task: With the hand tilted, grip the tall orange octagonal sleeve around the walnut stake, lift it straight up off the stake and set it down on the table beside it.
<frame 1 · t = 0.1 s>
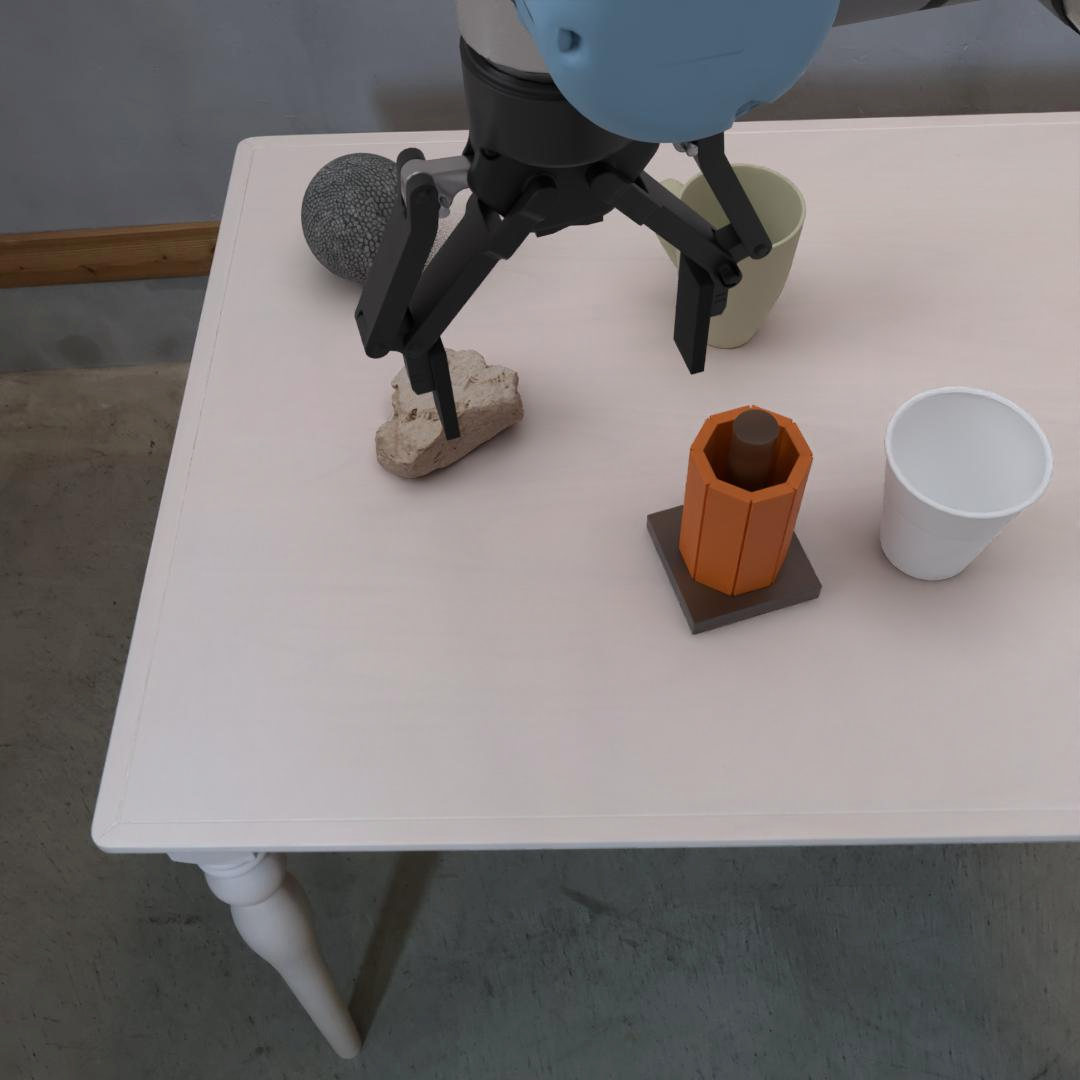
hand: (569, 387, 61), 20 cm above the table, tool pointing down, fingers open, 13 cm apart
stake: (730, 560, 77), on the table
mug: (712, 322, 89), on the table
decorative ball: (375, 267, 94), on the table
orange octagonal sleeve: (732, 549, 76), point 1 cm above the table, touching stake
cup: (923, 546, 77), on the table
stone: (456, 432, 84), on the table
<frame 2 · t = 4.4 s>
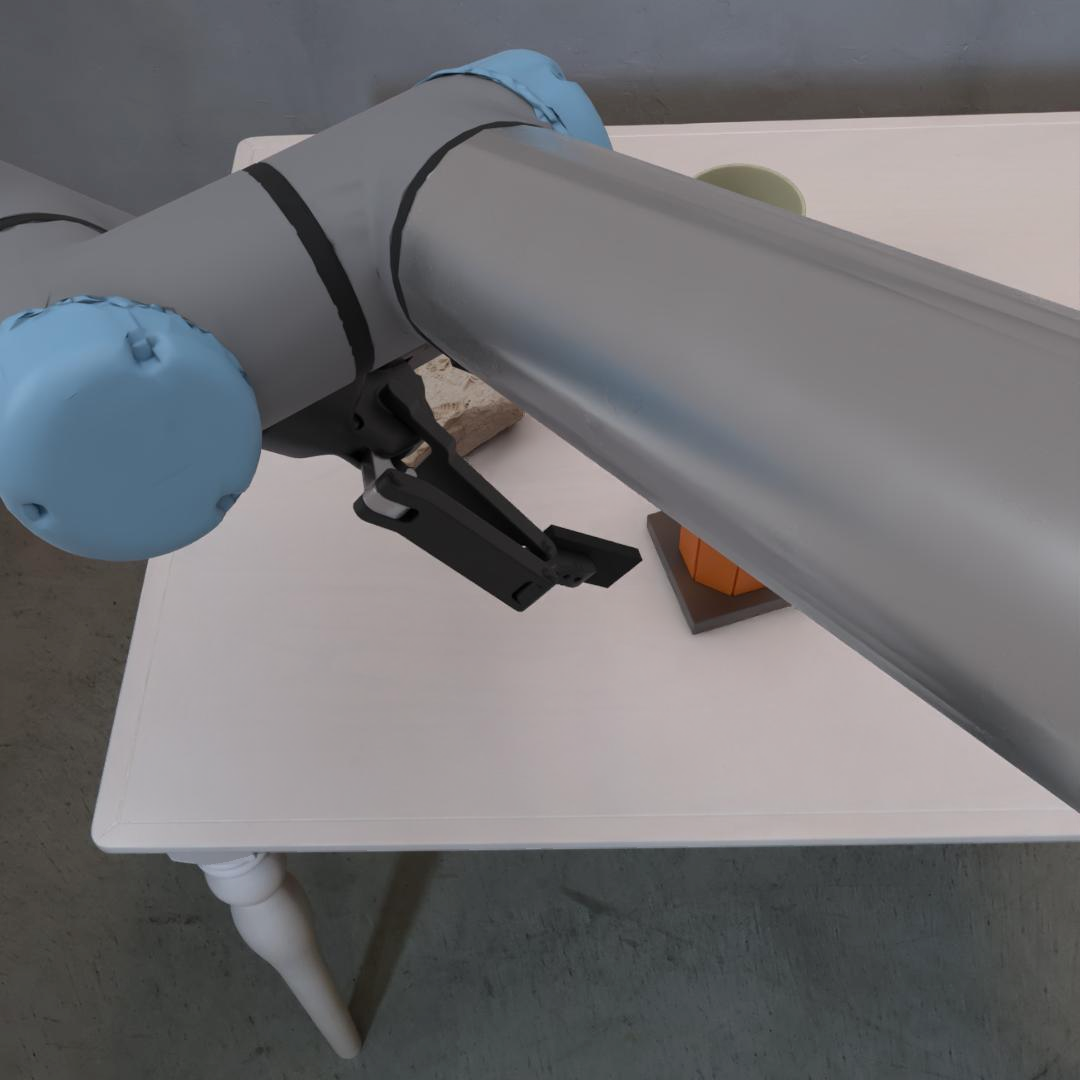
hand: (584, 468, 63), 15 cm above the table, tool tilted 45°, fingers open, 13 cm apart
nothing on the table moved.
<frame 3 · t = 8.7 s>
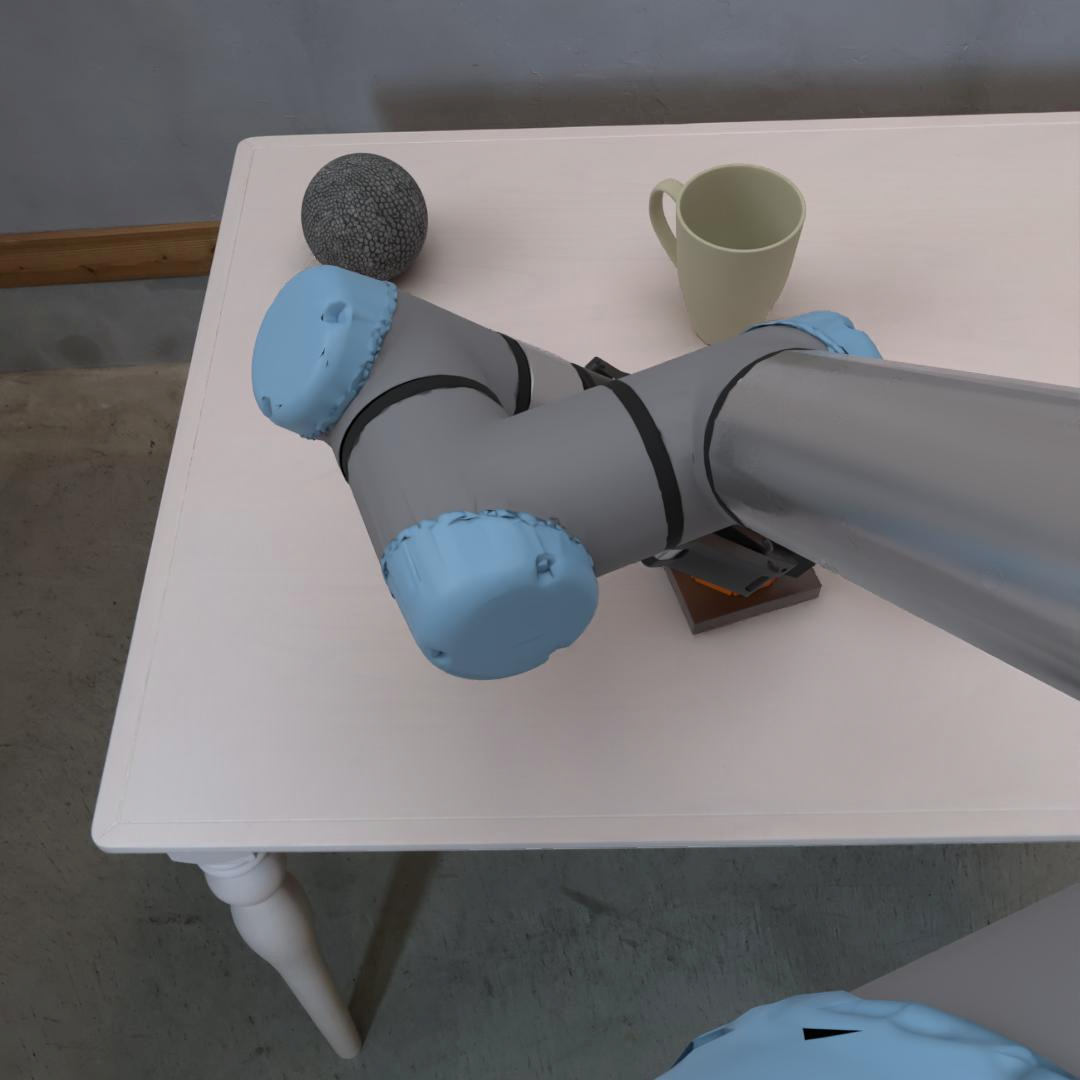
hand: (786, 515, 74), 4 cm above the table, tool tilted 45°, fingers closed on orange octagonal sleeve, 7 cm apart
orange octagonal sleeve: (732, 549, 76), point 2 cm above the table, touching gripper, stake
everything else where it was.
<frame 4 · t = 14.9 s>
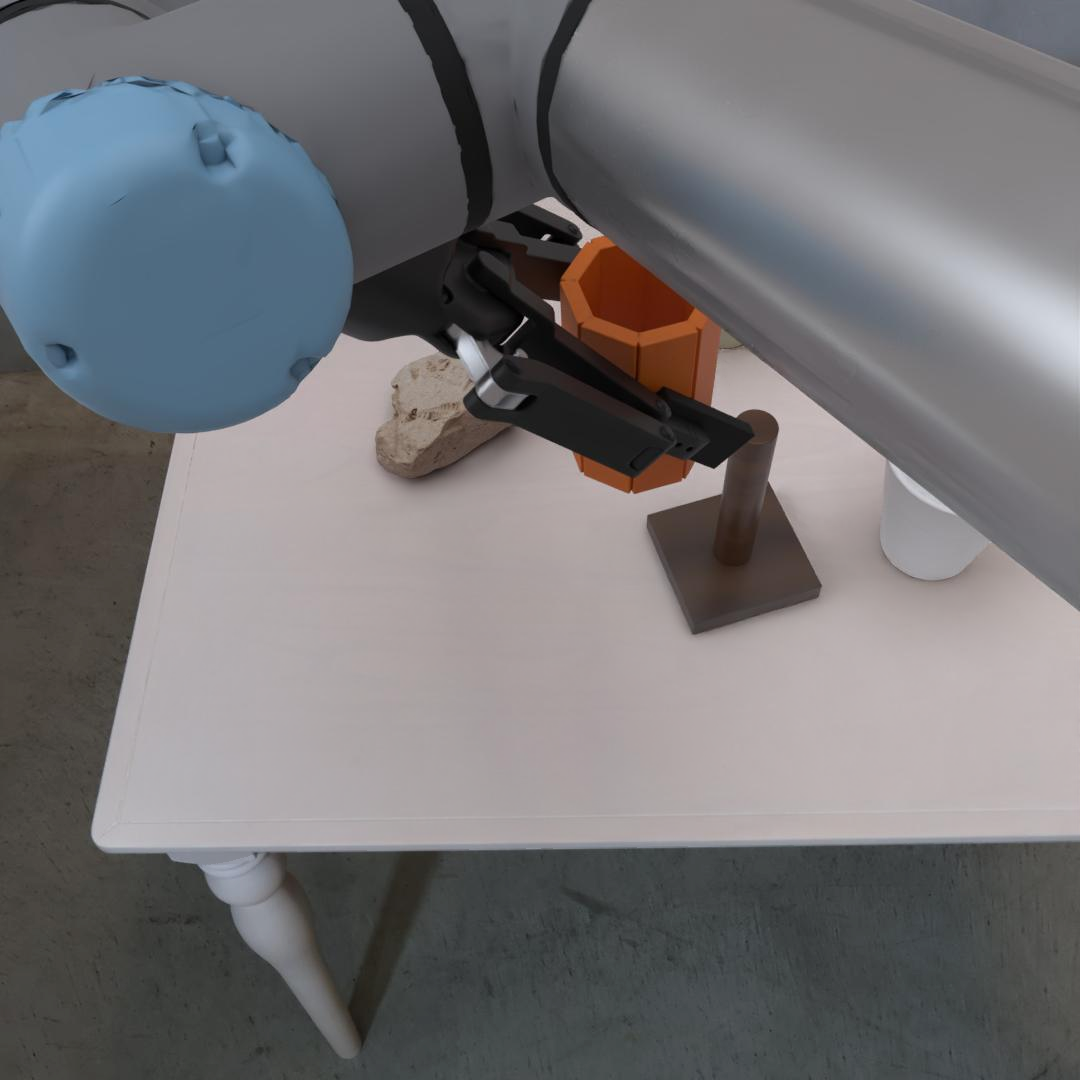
hand: (703, 389, 57), 22 cm above the table, tool tilted 45°, fingers closed on orange octagonal sleeve, 7 cm apart
orange octagonal sleeve: (635, 437, 58), point 20 cm above the table, touching gripper
everything else where it was.
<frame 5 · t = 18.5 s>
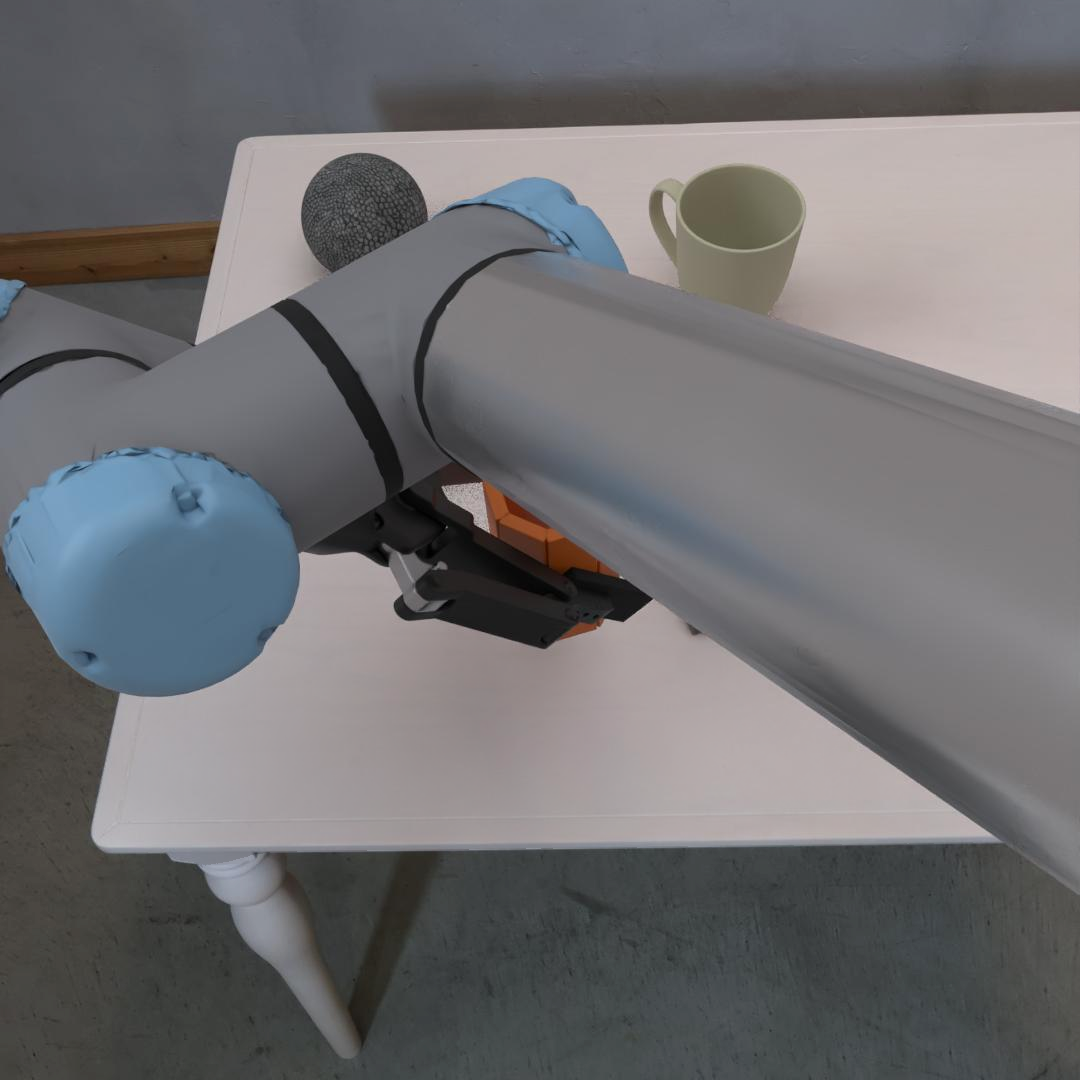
hand: (615, 549, 65), 11 cm above the table, tool tilted 45°, fingers closed on orange octagonal sleeve, 7 cm apart
orange octagonal sleeve: (558, 587, 67), point 9 cm above the table, touching gripper
everything else where it was.
when the fingers open (2 cm above the table, at t = 21.2 s): orange octagonal sleeve stays where it is, on the table.
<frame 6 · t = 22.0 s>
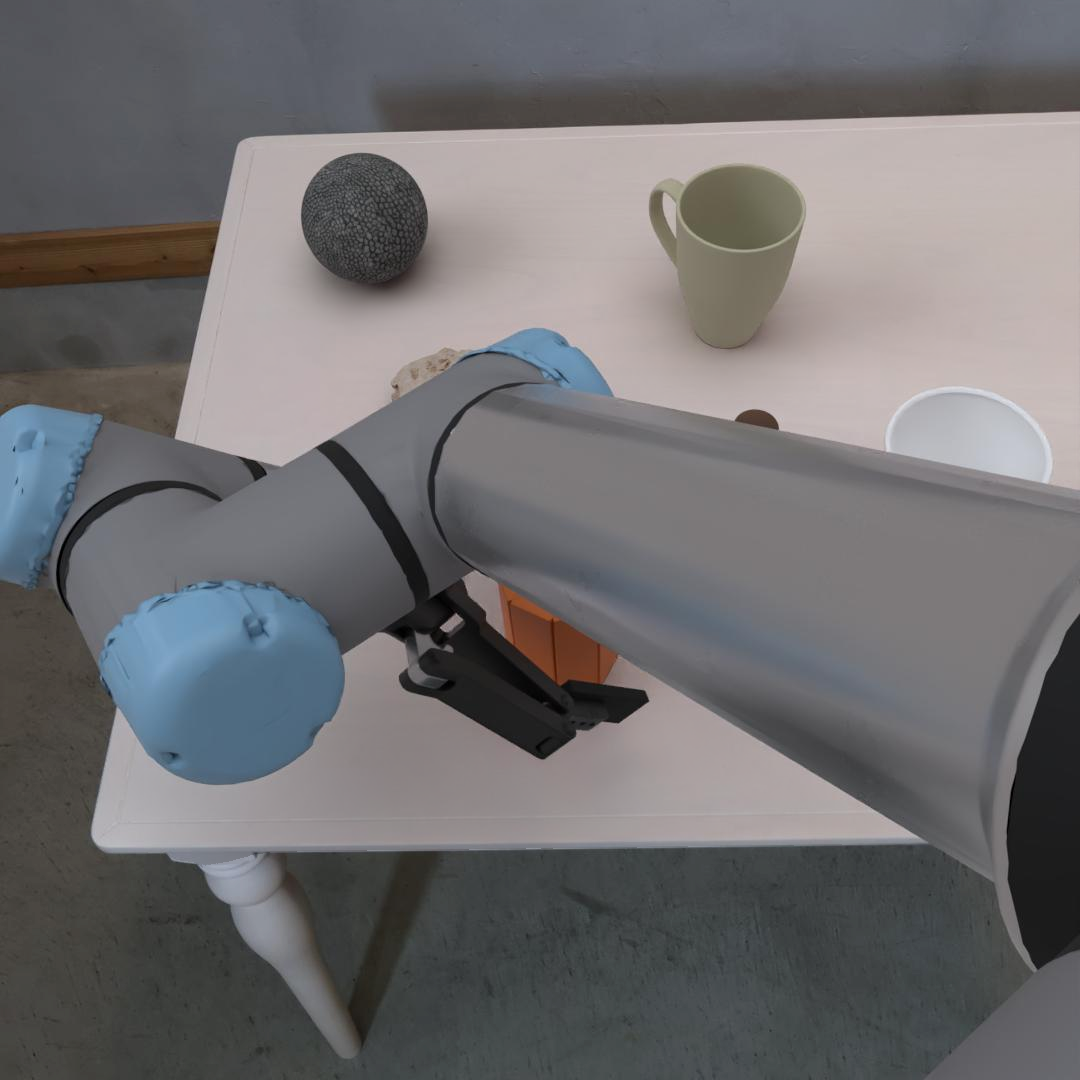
hand: (596, 611, 71), 4 cm above the table, tool tilted 45°, fingers open, 13 cm apart
orange octagonal sleeve: (562, 651, 74), on the table
everything else where it was.
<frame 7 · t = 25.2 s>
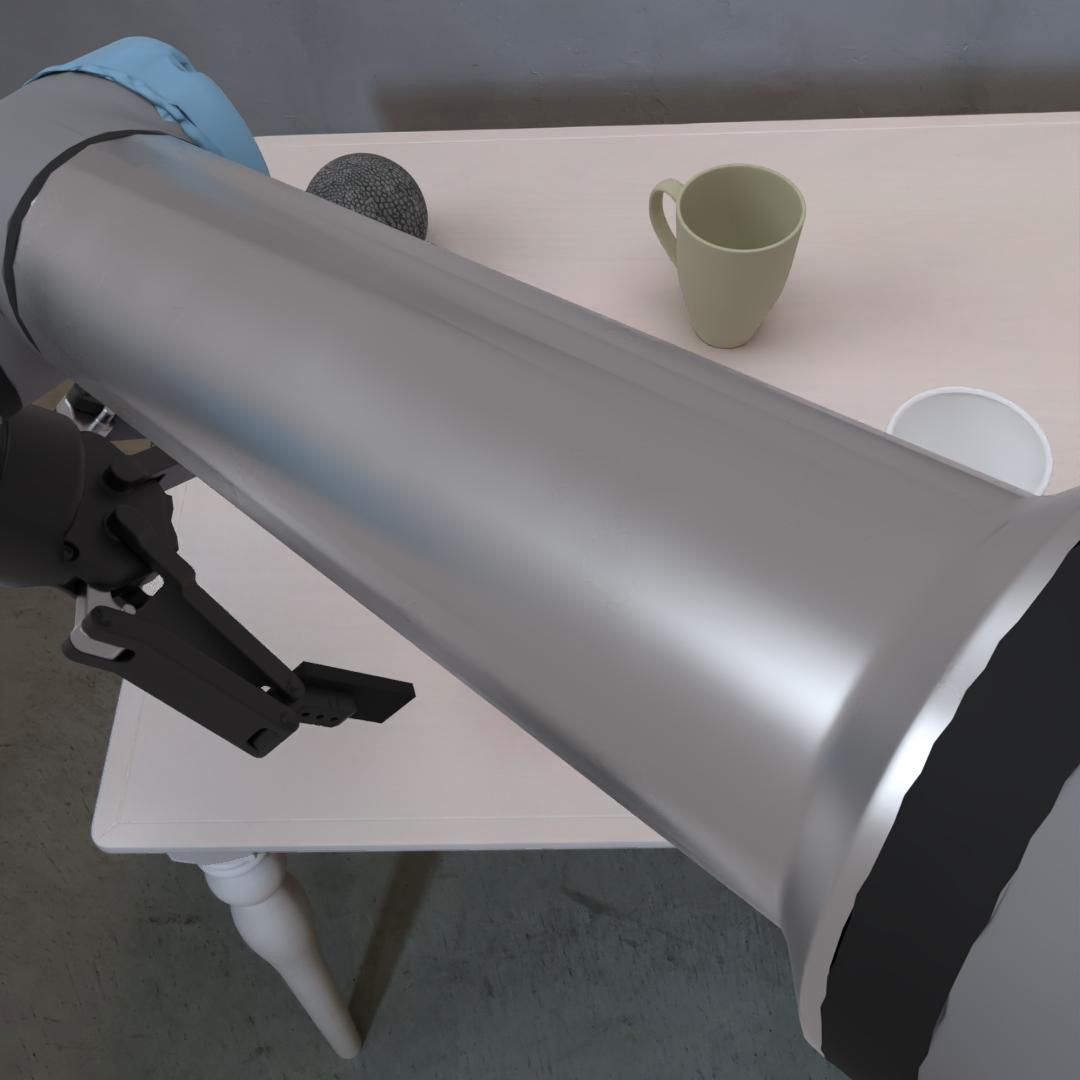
hand: (371, 591, 59), 16 cm above the table, tool tilted 40°, fingers open, 13 cm apart
nothing on the table moved.
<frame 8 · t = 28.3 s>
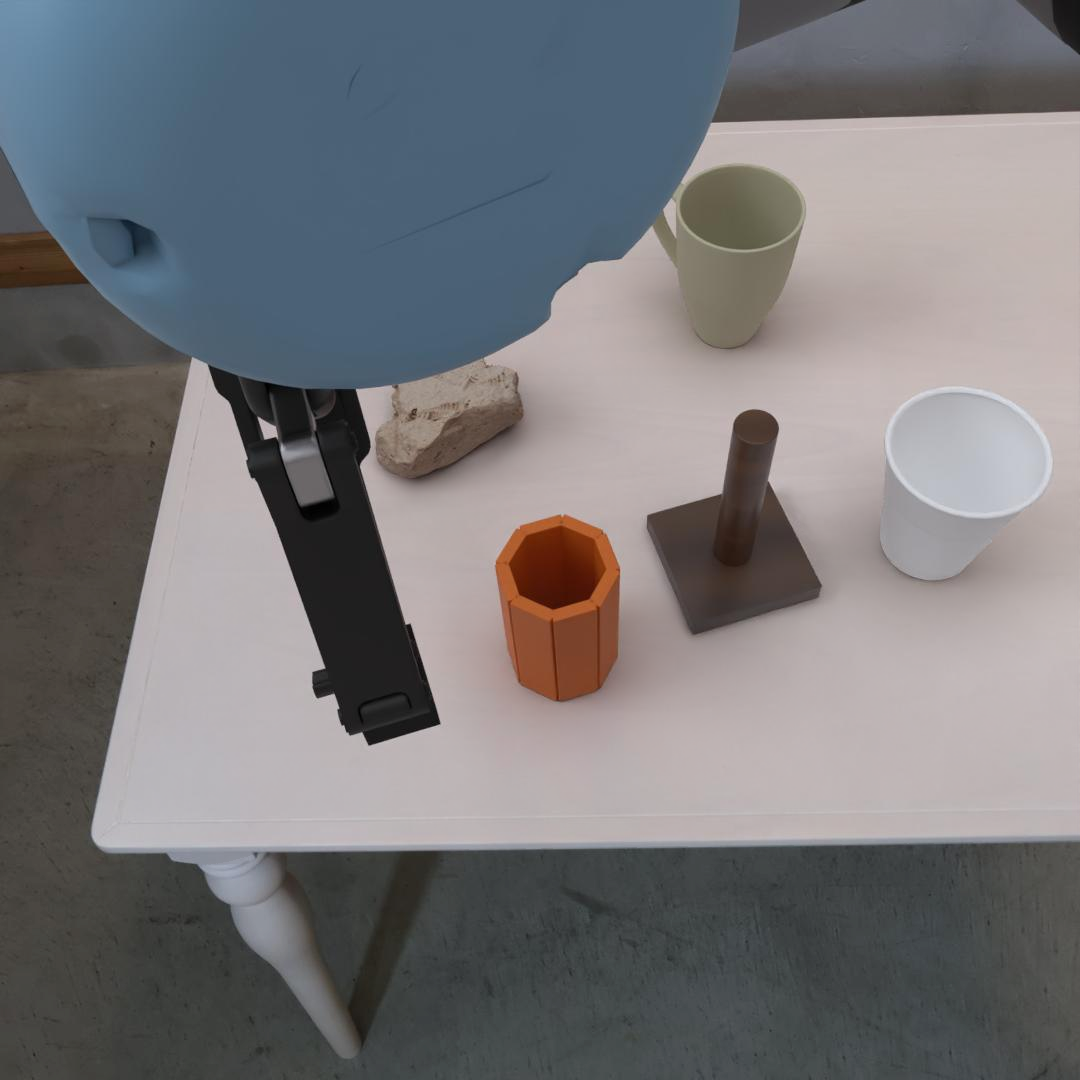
hand: (363, 573, 44), 29 cm above the table, tool pointing down, fingers open, 13 cm apart
nothing on the table moved.
at the end: orange octagonal sleeve inside the target area (0.1 cm from its centre), on the table; orange octagonal sleeve tilted 0°; the gripper is holding nothing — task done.
